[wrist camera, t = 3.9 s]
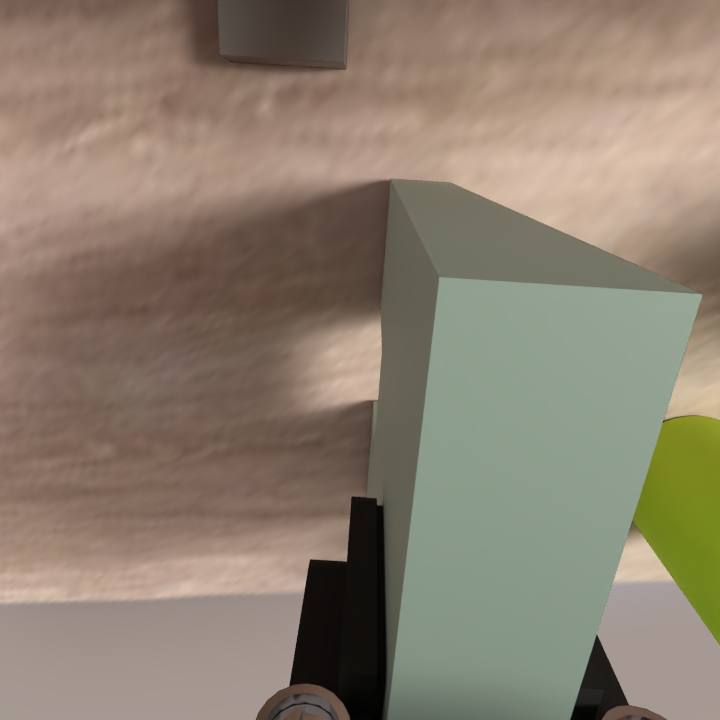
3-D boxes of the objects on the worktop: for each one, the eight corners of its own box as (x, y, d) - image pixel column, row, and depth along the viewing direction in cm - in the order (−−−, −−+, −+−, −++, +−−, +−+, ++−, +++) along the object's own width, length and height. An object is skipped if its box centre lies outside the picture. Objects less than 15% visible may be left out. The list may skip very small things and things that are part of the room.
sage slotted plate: (366, 495, 24) (351, 1028, 10) (390, 178, 19) (438, 277, 4) (413, 498, 24) (470, 1036, 10) (450, 182, 19) (702, 294, 4)
